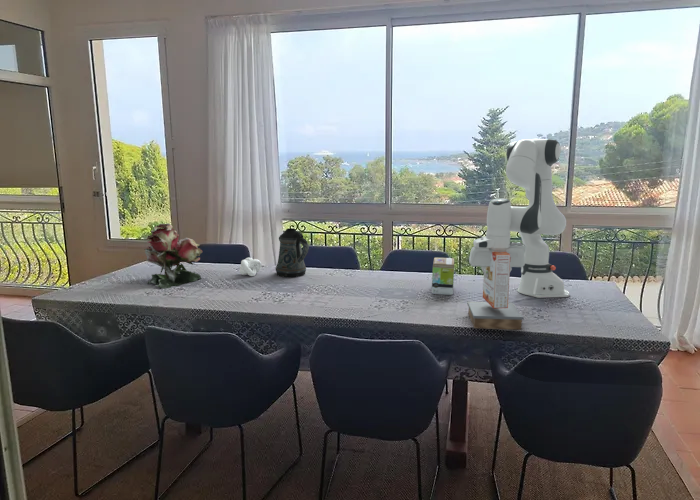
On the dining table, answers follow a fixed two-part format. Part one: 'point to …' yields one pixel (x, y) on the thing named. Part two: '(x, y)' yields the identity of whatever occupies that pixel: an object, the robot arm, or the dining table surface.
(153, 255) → the rose bouquet
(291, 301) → the dining table surface
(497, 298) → the cracker box
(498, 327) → the podium
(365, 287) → the dining table surface
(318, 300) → the dining table surface
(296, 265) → the beer stein
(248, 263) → the white knot sculpture
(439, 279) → the tea box
